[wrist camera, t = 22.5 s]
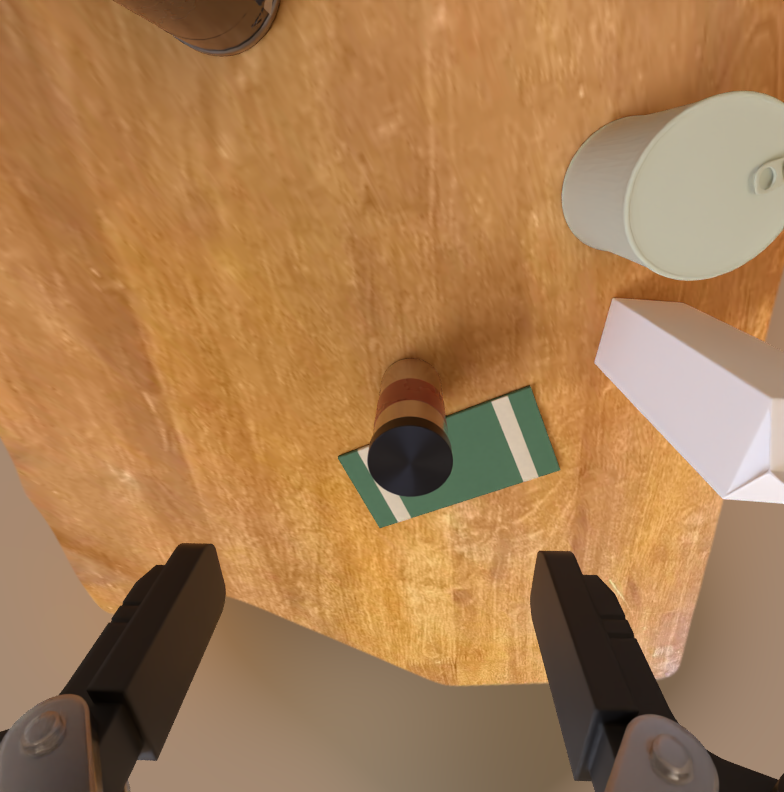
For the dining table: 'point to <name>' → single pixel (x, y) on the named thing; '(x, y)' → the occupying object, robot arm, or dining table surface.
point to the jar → (410, 431)
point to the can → (683, 185)
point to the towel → (469, 458)
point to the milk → (702, 392)
